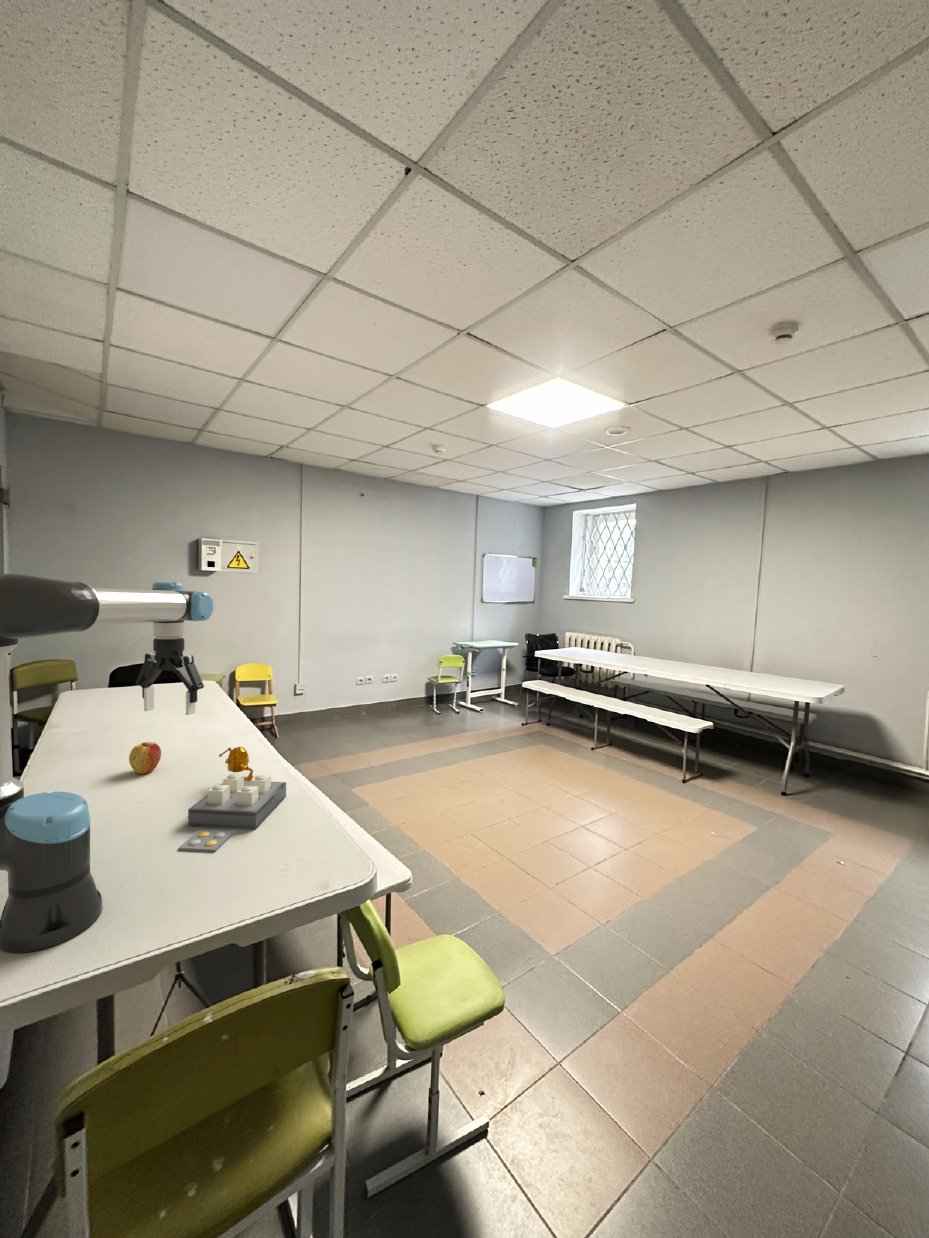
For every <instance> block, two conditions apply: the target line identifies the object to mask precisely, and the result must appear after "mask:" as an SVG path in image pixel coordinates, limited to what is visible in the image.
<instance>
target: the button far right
mask: <svg viewBox="0 0 929 1238" xmlns="http://www.w3.org/2000/svg"><path fill="white" fill-rule="evenodd" d="M271 779H272V776H271V775H266V774H257V775H255V776H254V778H253V779H252V780H251V786H256V787H258V793H264V794H266V793H267V792H268V791H269V790H270V789H271V782H272V780H271Z"/></svg>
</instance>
